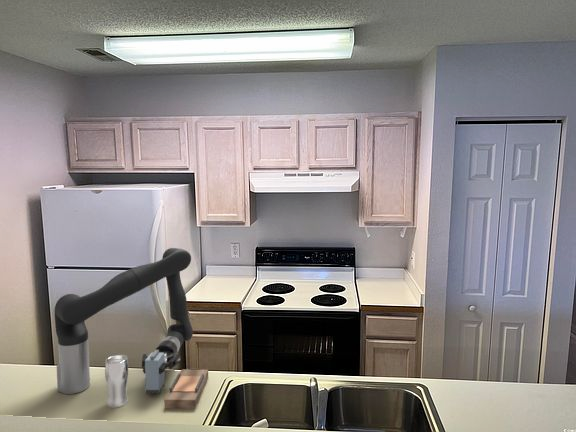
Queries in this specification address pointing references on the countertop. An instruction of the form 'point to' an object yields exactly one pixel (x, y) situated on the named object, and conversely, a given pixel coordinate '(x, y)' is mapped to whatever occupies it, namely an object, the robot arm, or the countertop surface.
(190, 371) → the dock
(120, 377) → the beer glass
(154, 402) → the countertop surface
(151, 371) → the blue rectangular block
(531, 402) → the countertop surface
